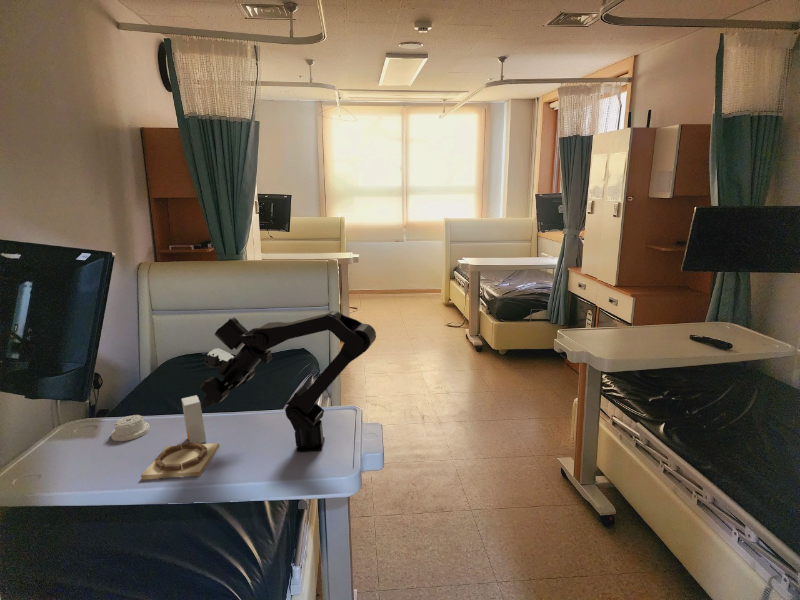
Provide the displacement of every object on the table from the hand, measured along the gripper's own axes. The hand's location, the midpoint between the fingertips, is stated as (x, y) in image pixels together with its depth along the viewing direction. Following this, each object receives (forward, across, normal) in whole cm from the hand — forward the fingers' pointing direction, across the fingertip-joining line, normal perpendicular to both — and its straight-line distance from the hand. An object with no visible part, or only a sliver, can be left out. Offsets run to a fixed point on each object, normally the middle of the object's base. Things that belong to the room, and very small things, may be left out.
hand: (212, 399), depth 134 cm
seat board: (+11, +12, +6) cm, 17 cm away
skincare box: (+14, 0, +4) cm, 14 cm away
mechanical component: (+30, -2, -12) cm, 32 cm away
